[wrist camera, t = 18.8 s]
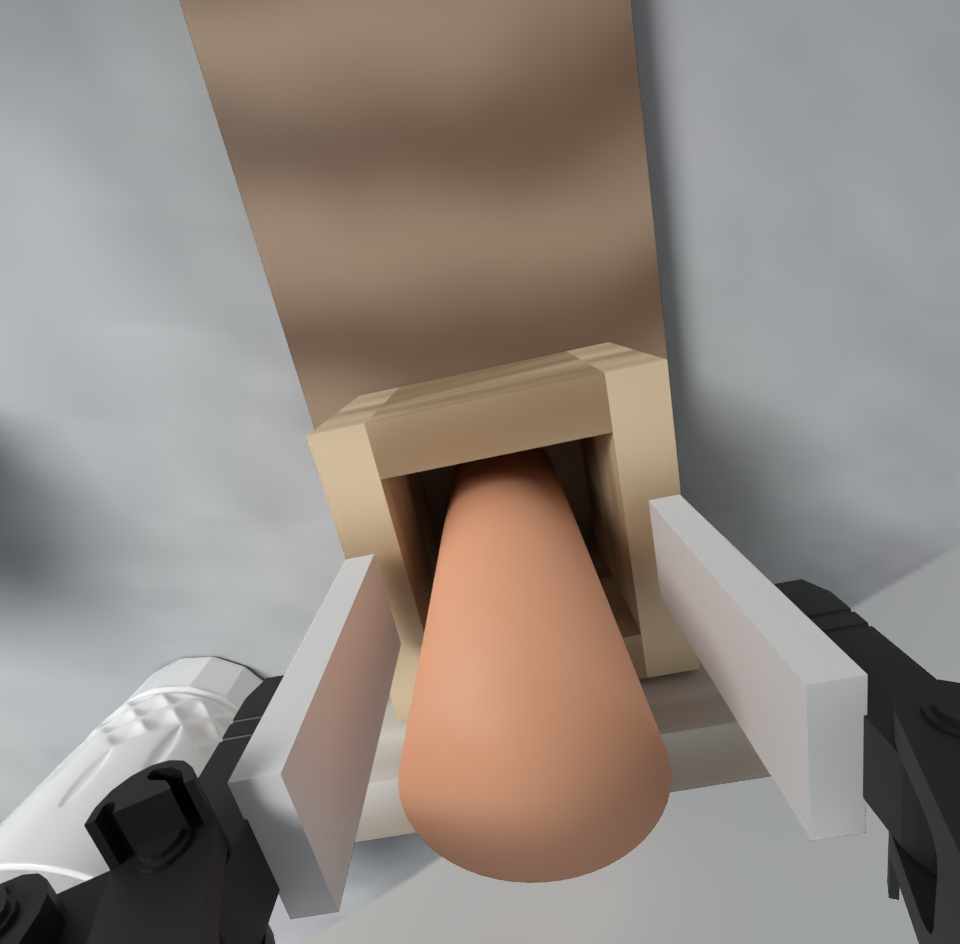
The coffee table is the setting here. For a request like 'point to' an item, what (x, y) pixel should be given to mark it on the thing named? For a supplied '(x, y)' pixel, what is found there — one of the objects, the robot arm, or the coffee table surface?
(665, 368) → the open wooden box
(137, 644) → the coffee table surface
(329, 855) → the robot arm
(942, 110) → the coffee table surface
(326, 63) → the board
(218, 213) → the coffee table surface
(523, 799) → the dowel
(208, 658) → the white cup
